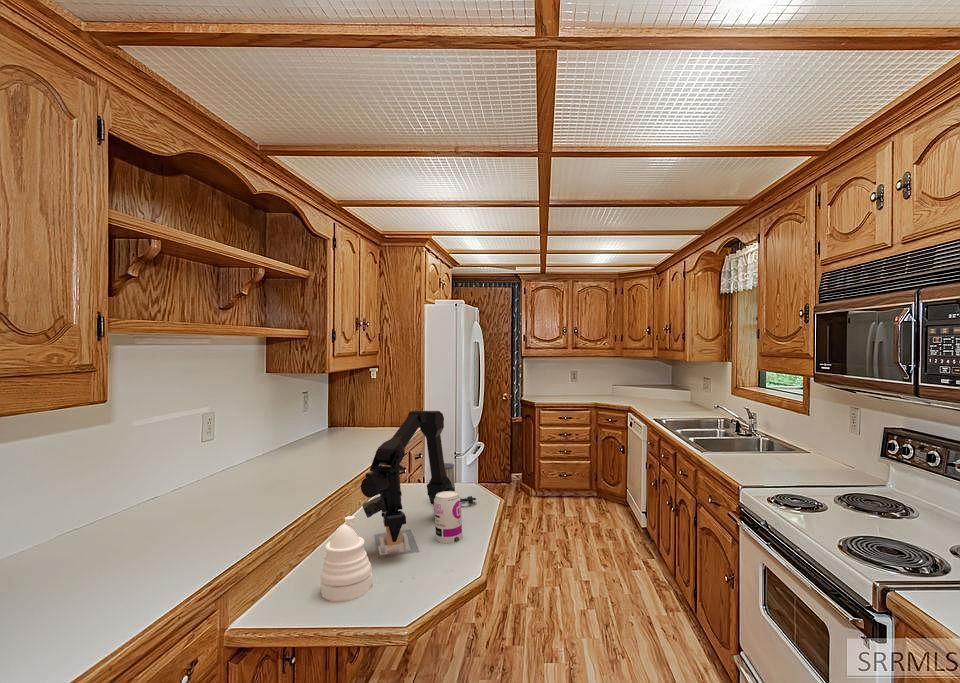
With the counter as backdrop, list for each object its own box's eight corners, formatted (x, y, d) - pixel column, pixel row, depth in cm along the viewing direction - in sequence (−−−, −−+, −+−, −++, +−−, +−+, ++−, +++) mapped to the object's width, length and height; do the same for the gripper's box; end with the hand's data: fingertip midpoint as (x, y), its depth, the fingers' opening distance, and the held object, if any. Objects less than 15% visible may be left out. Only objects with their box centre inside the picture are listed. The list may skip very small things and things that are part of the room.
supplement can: (466, 538, 165) (464, 491, 165) (454, 548, 157) (452, 499, 157) (444, 535, 168) (441, 489, 168) (431, 545, 160) (428, 497, 161)
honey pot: (352, 573, 144) (348, 508, 144) (382, 585, 136) (378, 516, 136) (311, 592, 134) (307, 522, 134) (341, 606, 126) (337, 532, 126)
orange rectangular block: (399, 540, 158) (398, 520, 158) (401, 543, 155) (399, 523, 155) (386, 542, 157) (385, 522, 157) (387, 546, 154) (386, 525, 154)
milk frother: (430, 501, 206) (428, 464, 206) (468, 496, 211) (466, 459, 211) (438, 512, 192) (436, 472, 192) (479, 505, 197) (476, 467, 197)
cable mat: (410, 532, 172) (410, 529, 172) (419, 555, 153) (419, 551, 153) (374, 538, 169) (374, 534, 169) (378, 562, 150) (378, 558, 150)
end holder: (407, 543, 160) (407, 531, 160) (410, 551, 154) (410, 539, 154) (378, 547, 158) (377, 536, 158) (380, 556, 151) (379, 544, 151)
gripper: (362, 483, 163) (364, 533, 163) (364, 500, 145) (368, 556, 145) (397, 479, 166) (400, 527, 166) (404, 495, 148) (407, 549, 148)
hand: (393, 539), depth 156 cm, fingers closed on orange rectangular block, 3 cm apart
